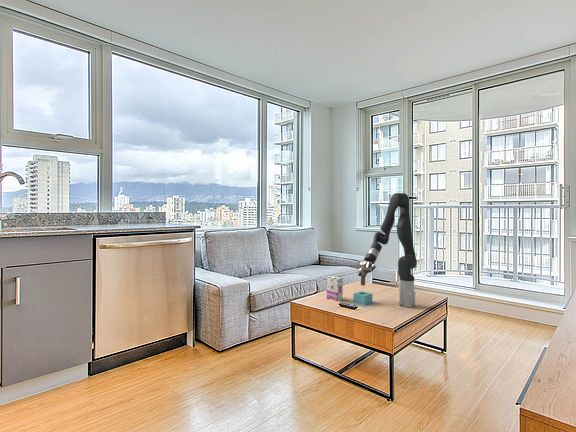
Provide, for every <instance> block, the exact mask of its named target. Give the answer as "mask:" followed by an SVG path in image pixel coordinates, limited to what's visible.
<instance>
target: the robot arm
mask: <svg viewBox="0 0 576 432" xmlns="http://www.w3.org/2000/svg"><path fill="white" fill-rule="evenodd" d="M398 208H399V218H398V220H397V223H396V234H397V237H398V240H399V242H400V244H401V246H402V248H403V252H404V255H402V256H400V257H399V259H398V260H397V270H398V272H397V273H398V278H399V285H398V287H399V289H398V290H399V291H398V292H399V295H398V296H399V299H398V304H399V306H400V307H404V308H409V309H410V308H413V307H415V306H416V291H415V276H414V275H413V274H412V271H411V270H413V269H415V268H416V267H417V263H418V262H417V257H416V252H415V248H414V241H413V233H412V232H413V231H412V224H411V216H410V198H409V196H408V194H407V193H406V192H405V193H404V192H395V193H393V194H392V195H391V196H390V200H389V202H388V207H387V211H386V213H385V217H384V219H383V221H382V224H381V226H380V230H381V231H377V232H375V233H374V236H373V241H372V244H371V246H370V248H369V249H368V250H367V253H366V255H365V256H364V259H363V261H362V262H357V263H358V264H357V265H358V266H357V269H358V273H357V275H358V277H361V264H365V271H364V273H363V277H365V278H366V276H367V275H368V274H369V273H372V272H373V271H374V270H375V269H376V268H377V266H376V264H375V263H376V261H377V260H378V258H379V256H380V253H381V250H382V249H383V246H382V245H384V246H385V245H387V244H388V243H389V241H390V240H389V239H390V233H391V231H392V228H393V226H394V224H395V213H396V211H397V209H398ZM382 232H383V233H382Z"/></svg>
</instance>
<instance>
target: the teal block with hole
mask: <svg viewBox="0 0 576 432" xmlns="http://www.w3.org/2000/svg"><path fill="white" fill-rule="evenodd" d="M352 297H353V299H352V301H353V302H355V303H359V304H363V305H366V304H369V303H372V301H373V293H371V292H367V291H364V290H360V291H356V292H353V296H352Z"/></svg>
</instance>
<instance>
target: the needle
mask: <svg viewBox="0 0 576 432" xmlns="http://www.w3.org/2000/svg"><path fill="white" fill-rule="evenodd" d="M365 270H366V269H365V264H361V276H360V286H366V276H365V277H363V273H364V271H365Z"/></svg>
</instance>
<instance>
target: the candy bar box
mask: <svg viewBox="0 0 576 432" xmlns="http://www.w3.org/2000/svg"><path fill="white" fill-rule="evenodd" d="M343 282H344V281H343V277H339V276H334V275H328V276H326V300H333V301H335V302H341V301H343V297H344V296H343V295H344V294H343V288H344V287H343Z"/></svg>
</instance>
